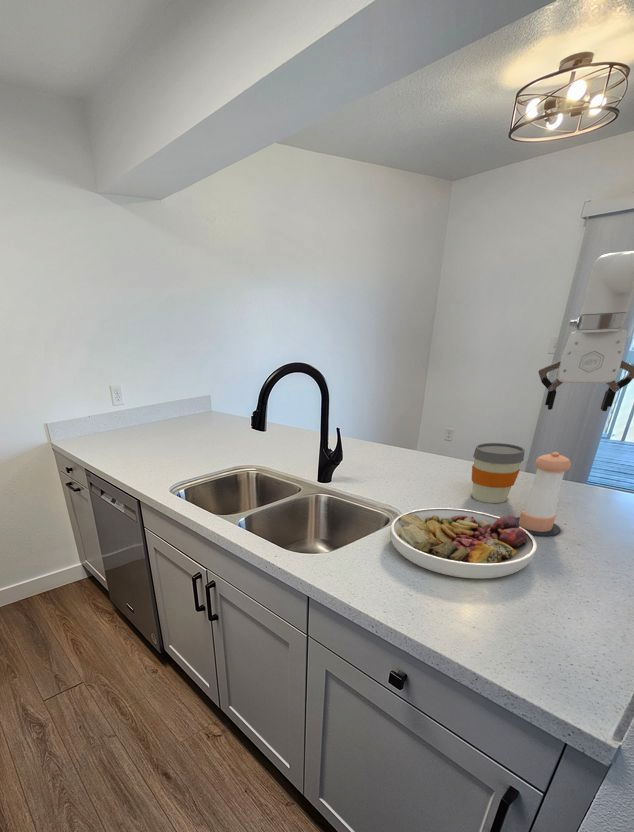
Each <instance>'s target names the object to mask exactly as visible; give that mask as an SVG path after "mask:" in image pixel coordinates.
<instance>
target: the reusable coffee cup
mask: <svg viewBox="0 0 634 832" xmlns="http://www.w3.org/2000/svg"><path fill="white" fill-rule="evenodd" d="M525 451H526V450H525V448H523V447H522V446H519V445H516V444H510V443H502V442H485V443H479V444H477V445H476V446H475V449H474V452H473V458H474V459H473V464H472V465H471V482H472V492H471V497H472V498H473V499H474V500H476V501H479V502H483V503H489V504H499V503H504V502H506V501H507V498H508V496H509V493H510V491H511V489H512V487H513V486H514V485H515V483H516V480H517V478H518V475H519V473H520V471H521V468H520V466H521V464H522V462H523V461H524V459H525Z"/></svg>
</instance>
